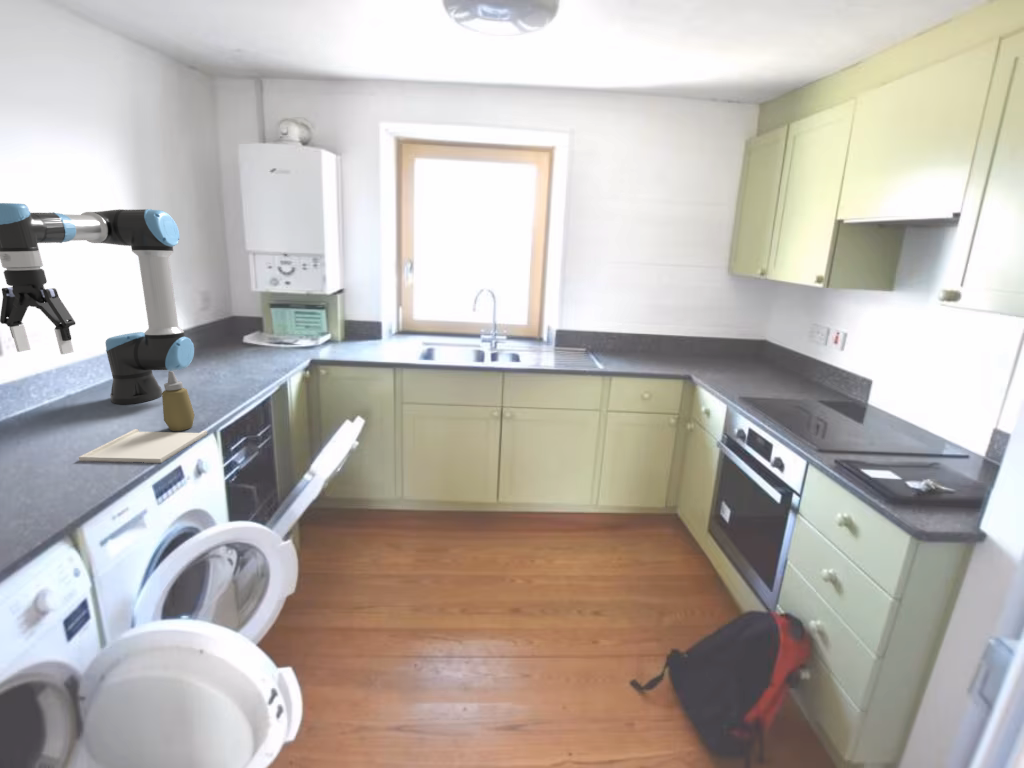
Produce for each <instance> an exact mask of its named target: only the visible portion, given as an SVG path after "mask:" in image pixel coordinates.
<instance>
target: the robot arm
mask: <svg viewBox="0 0 1024 768" xmlns="http://www.w3.org/2000/svg"><path fill="white" fill-rule="evenodd" d="M179 240H180V231H179V227H178V224H177V222H175V220H174V218H172V216H171V215H170V214H169V213H168V212H166V211H164V210H160V209H151V208H150V209H149V208H147V209H146V208H145V209H110V210H102V211H85V212H83V213H82V214H63V213H59V212H58V213H57V212H55V211H54V212H31V211H30V210H29V207H28V206H27V205H26V204H24V203H11V202H10V203H9V202H8V203H7V202H0V263H1V267H2V268H4V269H5V270H4V271H3V275H4V278H5V282H6V285H7V286H11V287H2V288H1V293H2V302H1V310H0V324H1V325H2V324H4V325H6V326H7V327H9V331H10V334H11V336H12V339H13V341H14V345H15V348H16V349H15V350H16V351H17V353H18V352H19V353H20V352H24V351H31V346H30V343H29V339H28V336H27V332H26V327H25V325H24V323H23V319H24V317H25V314H26V312H27V310H28V308H29V307H33V308H34V307H35V308H36V309H38V310H40V311H41V312H42V313H43V315H45V316H46V317H47V319H48V320H49V321H50V322H51V323H53V325H54V326H55V328H54V333H55V337H56V340H57V345H58V349H59V352H60V355H65V354H69V353H74V348H73V344H72V341H71V340H72V334H71V331H70V327H72V326H75V325H76V321H75V320H74V318H73V316H72V315H71V314H70V312H69V310H68V309H67V307H66V306H65V304H64V303H63V302H62V300H61V299H60V297H59V294H58V290H57V289H56V288H54V287H53V288H46V287H45V286H44V285H45V284H47V283H48V282H47V281H48V280H47V278H46V273H45V270H44V269H43V268H42V267H44V264H43V261H42V257H41V253H40V250H39V245H38V244H52V243H59V244H62V243H67V242H70V241H87V242H89V243H92V244H109V245H116V246H125V247H126V246H127V247H128V246H129V247H130V248H131V252H132V253H133V254H135V255H136V256H137V257H138V263H139V271H140V275H141V283H142V290H143V298H144V304H145V310H146V318H147V323H148V324H147V325H148V329H147V330H146V331H143V332H142V331H139V332H130V333H124V334H119V335H115V336H111V337H108V338H107V339H106V340H105V348H106V349H105V352H106V355H107V359H108V364H109V368H110V372H111V376H112V383H111V392H110V400H111V403H112V404H118V405H129V404H130V405H133V404H139V403H144V402H148V401H149V402H150V401H153V400H156V399H159V398H161V397H162V392H163V389H162V387H161V386H160V385H159V383H158V380H157V379H156V377H155V376H154V375H153V371H168V372H169V371H173V372H174V371H181V370H185V369H186V368H188V367H189V366H190V365H191V362H192V361H193V359H194V357H195V347H194V346H195V345H194V342H193V341H192V340H191V338H190V337H188V336H185V331H184V330H183V329H182V328H180V327H179V322H178V314H177V307H176V299H175V293H174V286H173V277H172V270H171V262H170V256H171V255H172V254H173V253H174V247H175V246H177V245H178V244H179Z"/></svg>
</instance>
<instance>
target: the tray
mask: <svg viewBox="0 0 1024 768" xmlns="http://www.w3.org/2000/svg"><path fill="white" fill-rule="evenodd" d="M207 435H208V431H207V430H202V431H200V432H179V431H168V432H165V431H164V432H162V431H139V429H137V428H134V429H132V430H130V431H127V432H126V433H124V434H122V435H120V436H118V437H117V438H114V439H112V440H109V441H108V442H106V443H103V444H102V445H100V446H98V447H96V448H94V449H92V450H90V451H88V452H85V453H84V454H81V455H80V456H78V459H79V462H96V463H97V462H98V463H100V462H101V463H133V462H142V464H143V462H144V463H145V464H162V463H164V462H166V461H167V460H169V459H171V458H172V457H173V456H175V455H177V454H178V453H181V452H182V451H183V450H185V449H187V448H188V447H189V446H191V445H193V444H195V443H197V442H198V441H199V440H201V439H203V438H205V437H206V436H207Z"/></svg>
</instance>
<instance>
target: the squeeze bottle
mask: <svg viewBox="0 0 1024 768" xmlns="http://www.w3.org/2000/svg"><path fill="white" fill-rule="evenodd" d="M163 387H164V390H162V396H161V400H162V408H163V409H162V414H163V421H164V423H165V424H166V425H167V427H168V429H169V431H170V432H181V431H186V430H189V429H191V428H192V427H193V425H194V420H195V411H194V409H193V408H194V407H193V405H192V402H191V398H190V395H189V392H188V389H186V388H185V387H184V385H183V381H181V380H180V381H179V380H178V378H177V377H176V374H175V372H174V370H173V371H169V370H168V376H167V382H165V383H164V384H163Z"/></svg>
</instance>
